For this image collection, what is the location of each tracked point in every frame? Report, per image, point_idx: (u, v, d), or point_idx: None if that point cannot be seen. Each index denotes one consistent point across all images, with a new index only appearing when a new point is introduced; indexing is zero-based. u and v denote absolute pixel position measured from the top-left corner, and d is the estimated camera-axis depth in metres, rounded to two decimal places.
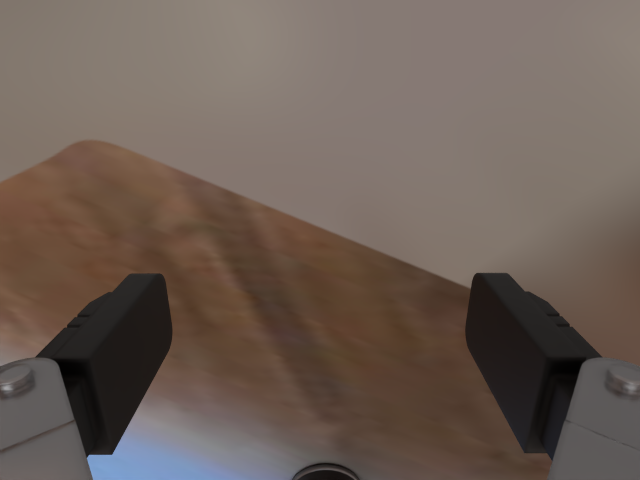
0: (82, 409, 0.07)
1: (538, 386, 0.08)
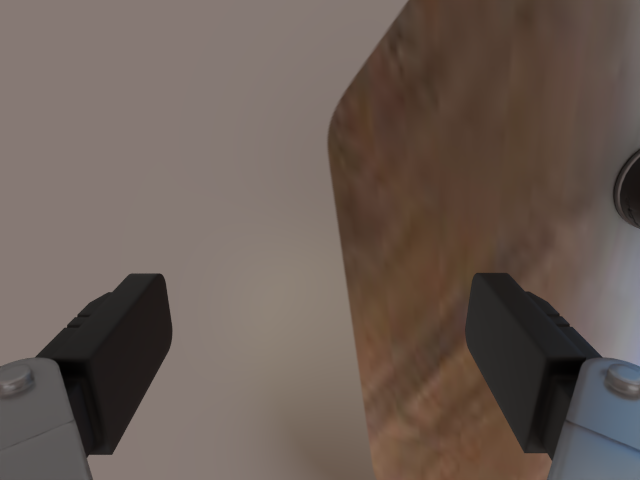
0: (82, 409, 0.07)
1: (538, 386, 0.08)
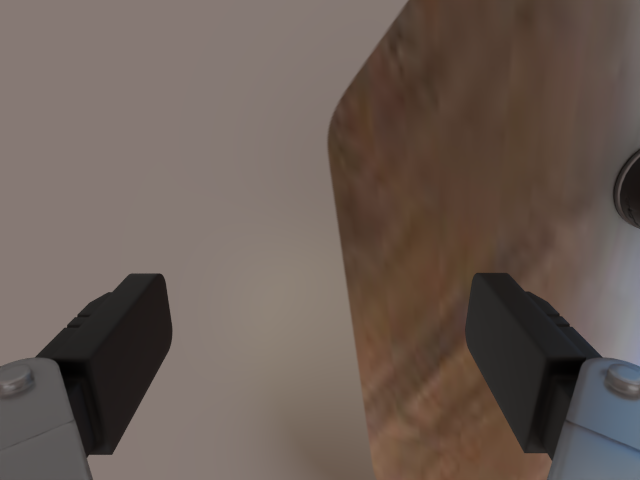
0: (82, 409, 0.07)
1: (538, 386, 0.08)
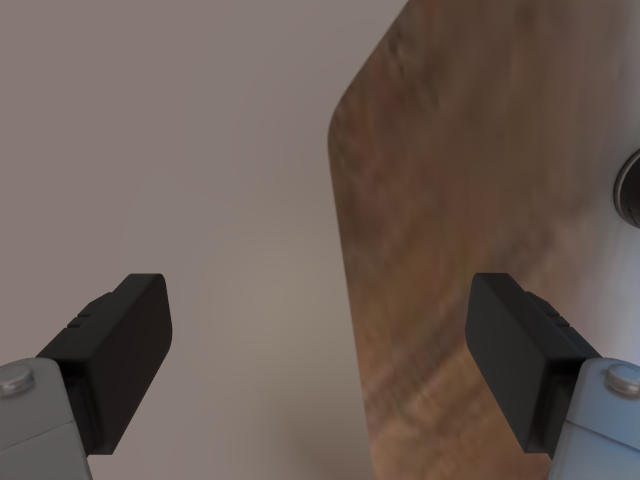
0: (82, 409, 0.07)
1: (538, 386, 0.08)
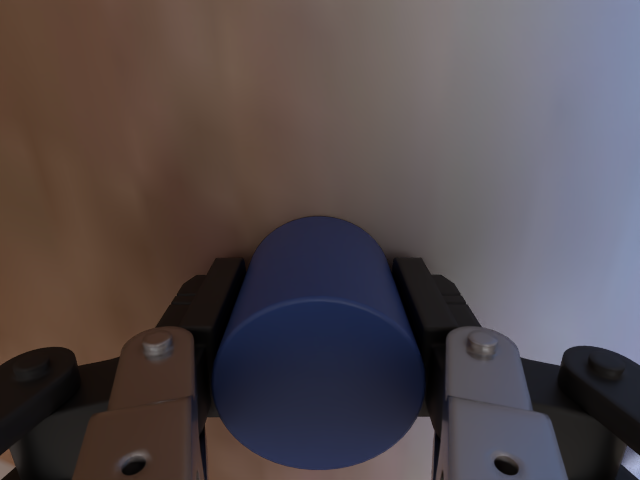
0: (204, 373, 0.08)
1: None
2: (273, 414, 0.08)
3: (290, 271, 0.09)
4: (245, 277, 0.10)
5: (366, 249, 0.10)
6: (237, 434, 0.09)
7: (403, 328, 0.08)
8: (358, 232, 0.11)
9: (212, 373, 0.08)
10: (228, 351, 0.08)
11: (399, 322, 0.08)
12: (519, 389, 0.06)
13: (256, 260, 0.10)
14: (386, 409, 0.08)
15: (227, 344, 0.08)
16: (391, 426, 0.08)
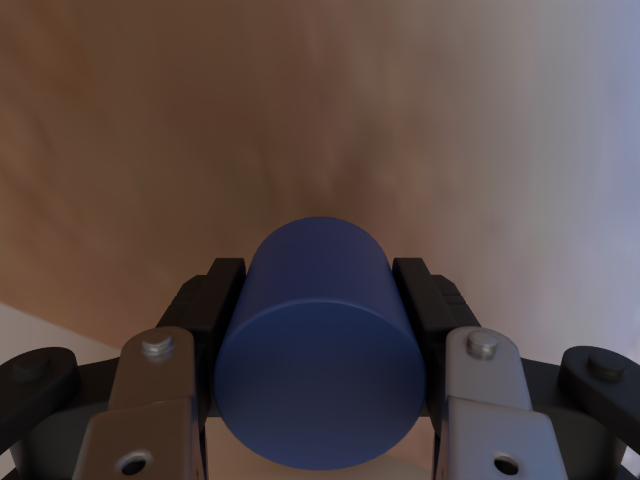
0: (204, 373, 0.08)
1: None
2: (274, 414, 0.08)
3: (292, 271, 0.09)
4: (246, 277, 0.11)
5: (367, 249, 0.10)
6: (239, 434, 0.09)
7: (404, 329, 0.08)
8: (359, 232, 0.11)
9: (213, 373, 0.08)
10: (229, 352, 0.08)
11: (400, 323, 0.08)
12: (519, 389, 0.06)
13: (257, 260, 0.11)
14: (388, 409, 0.08)
15: (228, 345, 0.08)
16: (392, 426, 0.08)
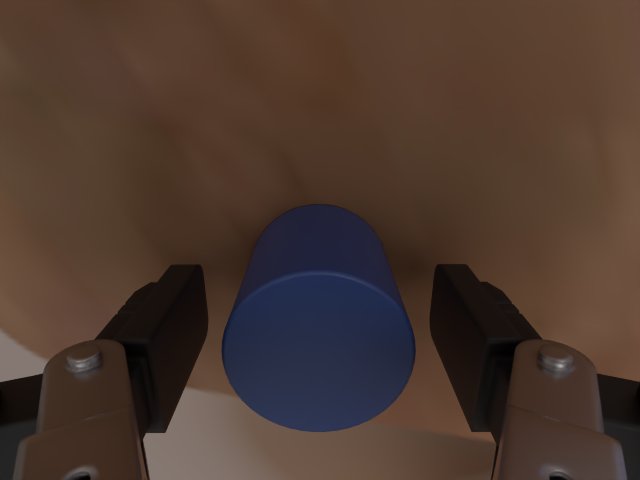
0: (142, 388, 0.08)
1: (481, 367, 0.08)
2: (277, 379, 0.09)
3: (293, 250, 0.09)
4: (251, 259, 0.11)
5: (362, 233, 0.11)
6: (245, 397, 0.09)
7: (394, 299, 0.09)
8: (355, 219, 0.12)
9: (223, 341, 0.09)
10: (237, 320, 0.09)
11: (391, 294, 0.09)
12: (591, 410, 0.06)
13: (261, 244, 0.11)
14: (380, 374, 0.09)
15: (237, 314, 0.09)
16: (384, 390, 0.09)
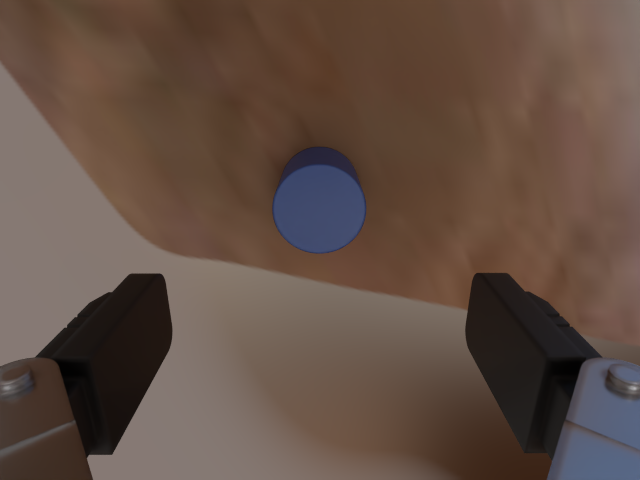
0: (82, 409, 0.07)
1: (538, 386, 0.08)
2: (299, 222, 0.19)
3: (306, 160, 0.19)
4: None
5: (342, 159, 0.21)
6: (283, 232, 0.19)
7: (355, 179, 0.18)
8: (339, 154, 0.22)
9: (273, 201, 0.19)
10: (281, 190, 0.18)
11: (353, 177, 0.18)
12: None
13: (288, 165, 0.21)
14: (349, 219, 0.19)
15: (281, 186, 0.18)
16: (351, 228, 0.19)
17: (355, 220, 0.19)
